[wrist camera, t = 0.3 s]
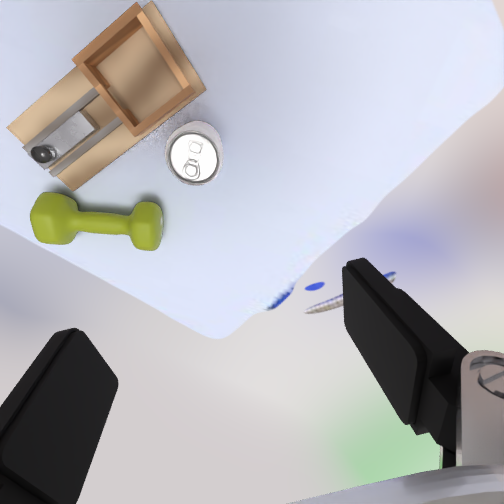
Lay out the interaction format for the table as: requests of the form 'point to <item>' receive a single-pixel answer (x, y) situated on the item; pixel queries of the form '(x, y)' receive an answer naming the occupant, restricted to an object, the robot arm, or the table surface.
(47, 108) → the mount
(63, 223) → the dumbbell
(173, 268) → the table surface
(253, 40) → the table surface
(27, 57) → the table surface
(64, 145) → the lock bolt
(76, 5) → the table surface
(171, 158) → the can
